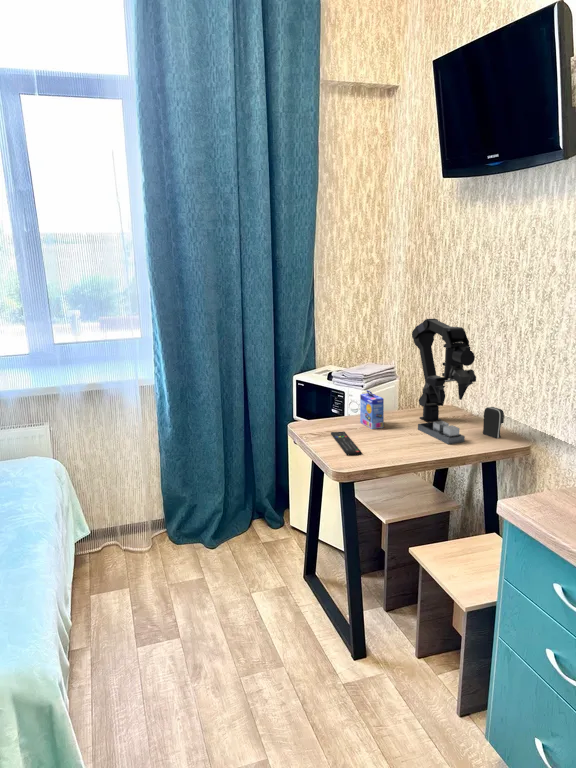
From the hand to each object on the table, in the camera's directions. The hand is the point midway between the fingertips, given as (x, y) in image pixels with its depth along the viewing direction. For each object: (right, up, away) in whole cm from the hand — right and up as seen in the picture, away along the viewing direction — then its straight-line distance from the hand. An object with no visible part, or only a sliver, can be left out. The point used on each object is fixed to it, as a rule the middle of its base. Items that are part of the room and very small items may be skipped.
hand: (450, 400), depth 220 cm
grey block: (-5, -13, -5) cm, 15 cm away
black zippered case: (+14, -14, -5) cm, 20 cm away
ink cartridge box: (-29, -10, +11) cm, 32 cm away
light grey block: (-3, -14, -11) cm, 18 cm away
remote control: (-41, -16, -11) cm, 46 cm away
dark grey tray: (-5, -14, -5) cm, 15 cm away
